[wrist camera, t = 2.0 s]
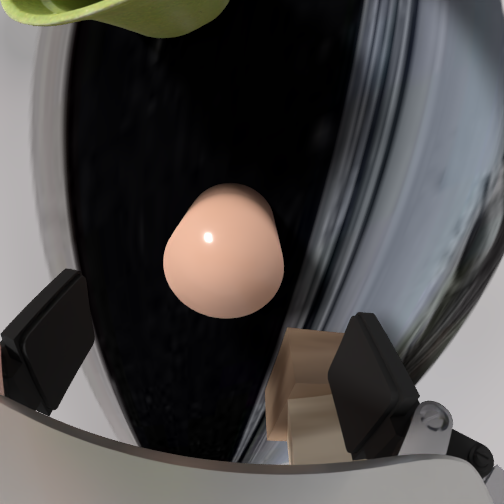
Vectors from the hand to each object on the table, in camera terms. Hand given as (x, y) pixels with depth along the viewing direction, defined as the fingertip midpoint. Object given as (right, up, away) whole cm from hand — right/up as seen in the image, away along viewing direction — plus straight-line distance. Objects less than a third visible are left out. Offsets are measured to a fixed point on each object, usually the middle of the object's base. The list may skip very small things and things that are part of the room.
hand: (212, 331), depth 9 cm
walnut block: (+6, -6, +11) cm, 14 cm away
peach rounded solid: (0, +4, +7) cm, 8 cm away
